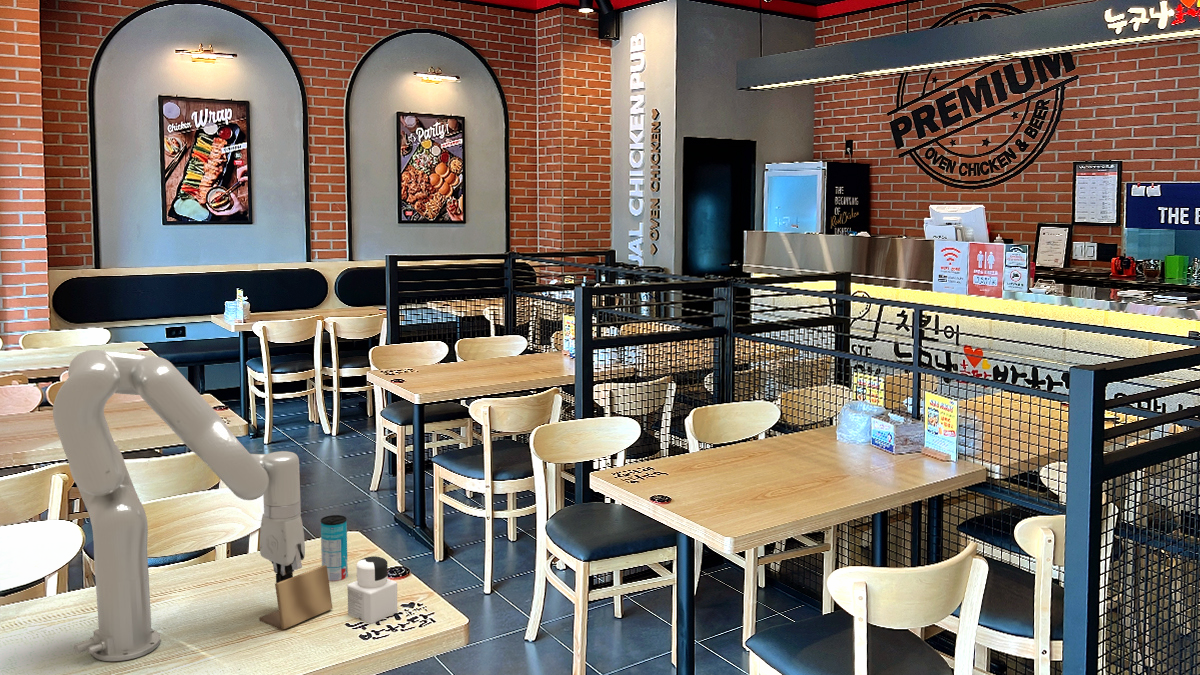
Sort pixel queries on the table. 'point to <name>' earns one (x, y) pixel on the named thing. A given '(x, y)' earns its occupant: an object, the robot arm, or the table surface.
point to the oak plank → (303, 596)
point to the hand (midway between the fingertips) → (284, 589)
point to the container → (372, 591)
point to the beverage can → (334, 546)
